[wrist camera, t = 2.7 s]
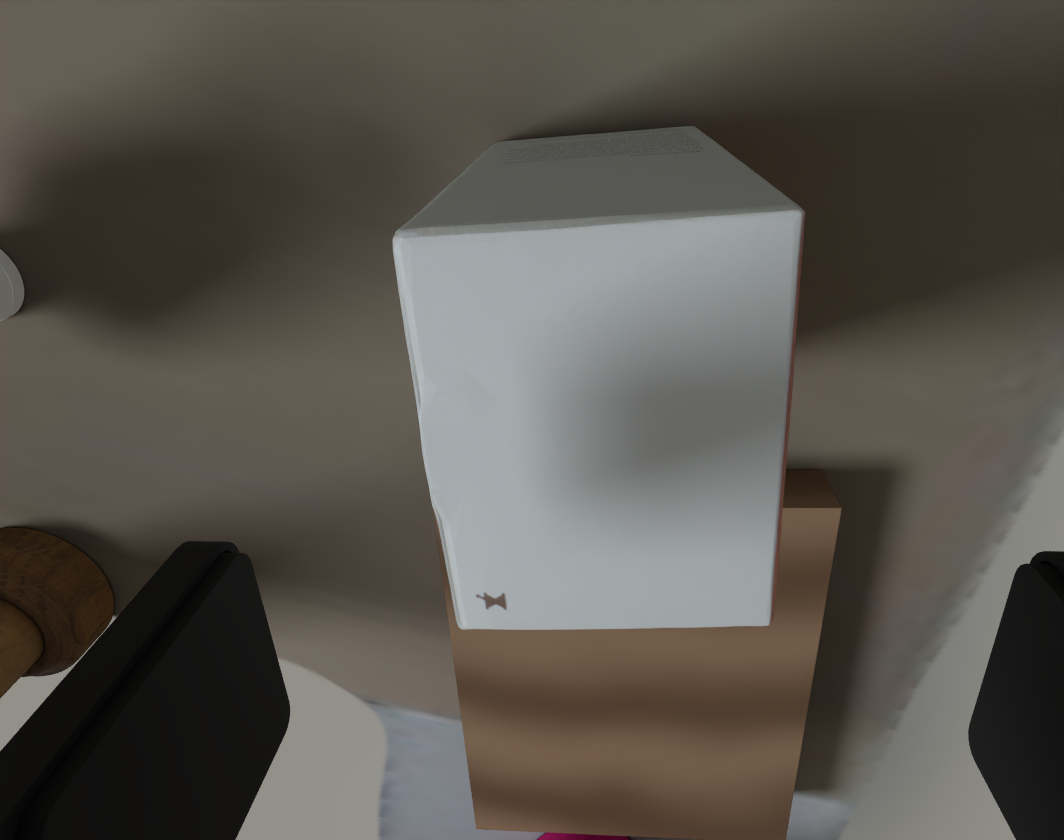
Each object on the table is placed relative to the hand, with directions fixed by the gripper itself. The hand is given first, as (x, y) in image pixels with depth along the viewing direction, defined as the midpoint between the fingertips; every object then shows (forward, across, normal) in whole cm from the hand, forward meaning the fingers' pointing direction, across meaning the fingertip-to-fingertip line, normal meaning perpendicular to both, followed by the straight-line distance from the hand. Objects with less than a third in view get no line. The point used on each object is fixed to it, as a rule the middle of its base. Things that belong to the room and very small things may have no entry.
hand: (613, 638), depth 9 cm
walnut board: (+17, -1, +16) cm, 24 cm away
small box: (+17, 0, -1) cm, 17 cm away
